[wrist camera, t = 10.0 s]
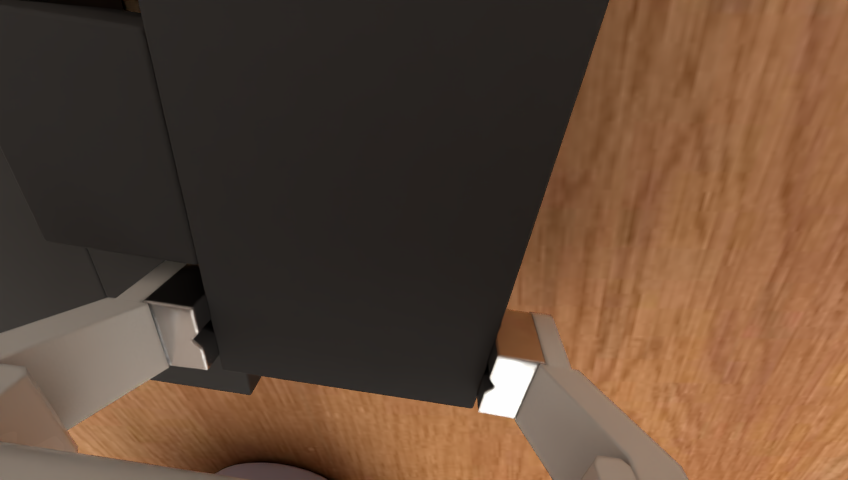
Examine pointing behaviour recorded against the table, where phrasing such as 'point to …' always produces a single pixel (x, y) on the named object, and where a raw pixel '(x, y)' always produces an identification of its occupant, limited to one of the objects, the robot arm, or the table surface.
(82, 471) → the robot arm
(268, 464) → the bowl
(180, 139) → the black stepped block
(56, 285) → the base pad
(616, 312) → the table surface
